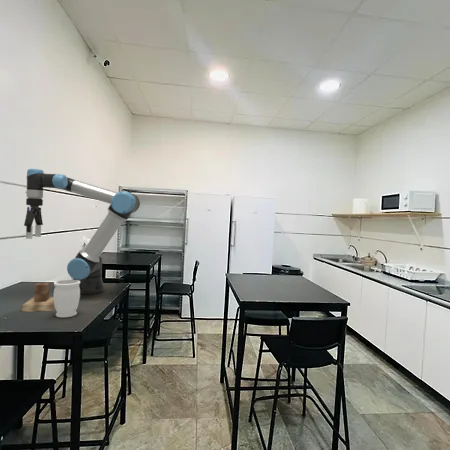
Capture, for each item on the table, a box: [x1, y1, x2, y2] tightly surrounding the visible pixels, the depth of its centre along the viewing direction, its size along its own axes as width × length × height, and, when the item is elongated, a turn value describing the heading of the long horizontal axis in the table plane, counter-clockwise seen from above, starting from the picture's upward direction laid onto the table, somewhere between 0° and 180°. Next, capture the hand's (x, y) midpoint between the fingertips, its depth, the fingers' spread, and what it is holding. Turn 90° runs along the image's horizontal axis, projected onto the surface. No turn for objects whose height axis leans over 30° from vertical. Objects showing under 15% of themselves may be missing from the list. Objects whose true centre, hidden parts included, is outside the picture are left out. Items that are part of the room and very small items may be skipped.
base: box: [21, 296, 56, 313], centre depth 147 cm, size 13×14×3 cm
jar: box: [53, 279, 81, 318], centre depth 137 cm, size 11×10×15 cm
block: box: [33, 282, 50, 302], centre depth 147 cm, size 5×5×8 cm
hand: (33, 237), depth 163 cm, fingers open, 13 cm apart
